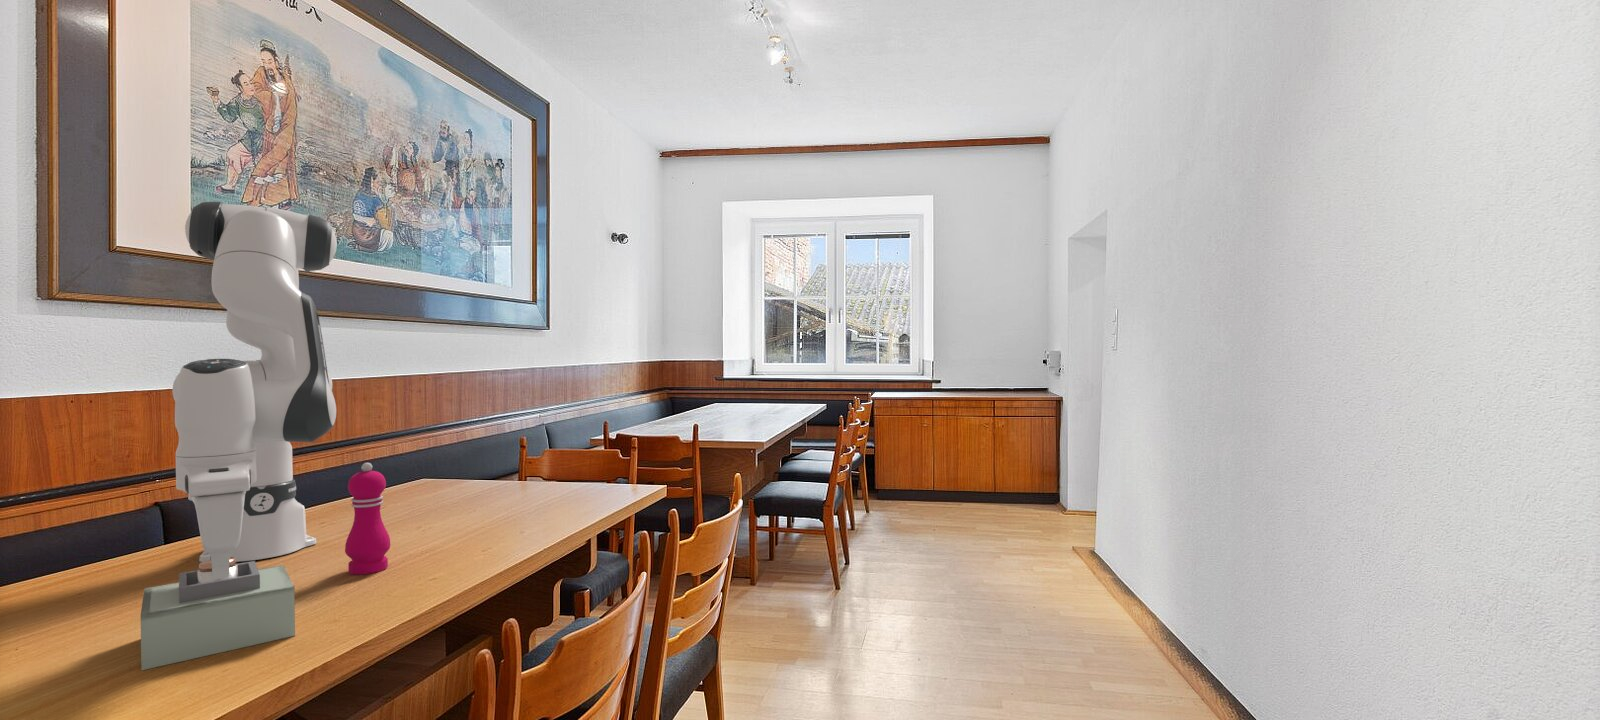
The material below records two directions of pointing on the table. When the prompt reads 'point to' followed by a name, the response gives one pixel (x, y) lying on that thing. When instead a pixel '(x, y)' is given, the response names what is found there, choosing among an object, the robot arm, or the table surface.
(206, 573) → the canister
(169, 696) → the table surface
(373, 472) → the pepper mill
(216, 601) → the green square holder
